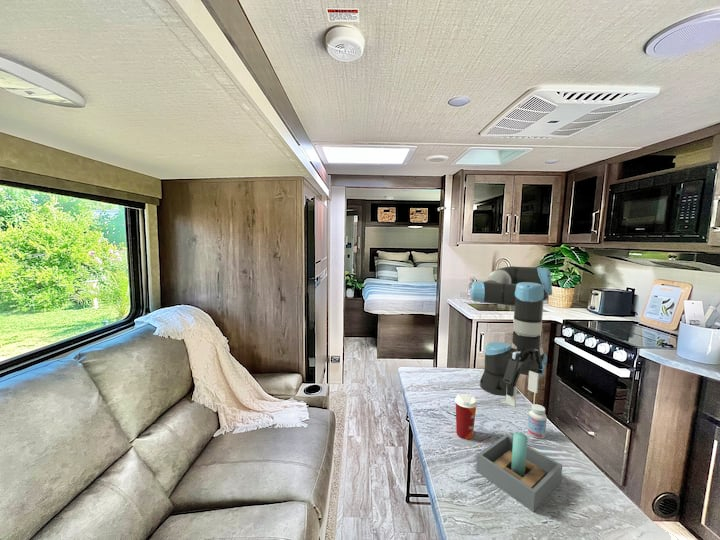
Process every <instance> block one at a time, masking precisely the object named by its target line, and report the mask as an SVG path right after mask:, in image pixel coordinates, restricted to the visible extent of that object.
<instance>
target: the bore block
mask: <svg viewBox="0 0 720 540" xmlns="http://www.w3.org/2000/svg"><path fill="white" fill-rule="evenodd" d="M493 463H495V464H496V465H498V466H499V467H501V468H502V469H504V470H505V471H507V472H508V473H510V474H511V475H513V476H514V477H516V478H517V479H519V480H520V481H522V482H523V483H525V484H526V485H528V486H529V487H531V488H532V489H533V488H534V487H535V486H536V485H537V484H538V483H539V482H540V481H541V480H542V479H543V478H544V477H545V476H546V475H547V471H545V470H543V469H542V468H540V467H538V466H536V465H535V464H533V463H531V462H530V461H528V460H526V468H525V476H524V477H523V478H522V477H521V476H519V475H518V474H516V473H514V472H513V471H511V464H512V451H511V450H509V451H508V452H506V453H505V454H504V455H502V456H501V457H500V458H498V459H497V460H496V461H494V462H493Z"/></svg>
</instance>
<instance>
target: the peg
mask: <svg viewBox="0 0 720 540" xmlns="http://www.w3.org/2000/svg"><path fill="white" fill-rule="evenodd" d="M512 437H513V448H512V464H511V471H513V472H514V473H516V474H518V475H519V476H521V477H522V478H523V477H524V476H525V468H526V454H527V445H528V440H529V439H528V436H527V435H526V434H524V433H523V432H519V431H516V432H514V433H513V435H512Z"/></svg>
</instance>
